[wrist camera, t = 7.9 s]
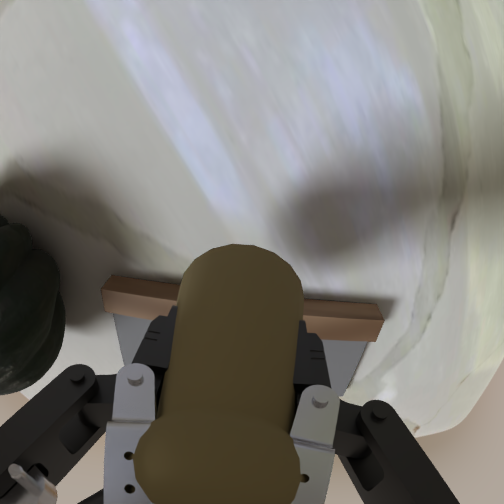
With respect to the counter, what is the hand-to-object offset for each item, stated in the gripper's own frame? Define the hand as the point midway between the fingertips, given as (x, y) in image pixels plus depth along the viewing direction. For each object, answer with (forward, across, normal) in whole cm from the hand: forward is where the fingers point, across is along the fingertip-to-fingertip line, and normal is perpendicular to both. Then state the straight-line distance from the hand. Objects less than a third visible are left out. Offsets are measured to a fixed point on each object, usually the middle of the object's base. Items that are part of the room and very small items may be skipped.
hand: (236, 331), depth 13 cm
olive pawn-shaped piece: (+2, 0, 0) cm, 2 cm away
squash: (+9, +20, +4) cm, 22 cm away
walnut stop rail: (+8, 0, +4) cm, 9 cm away
